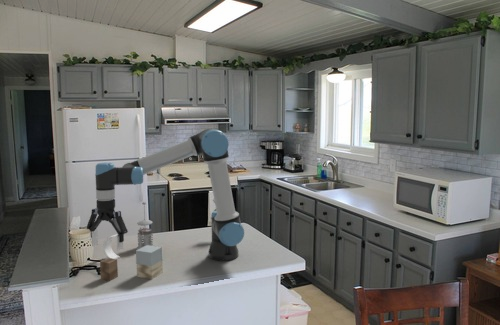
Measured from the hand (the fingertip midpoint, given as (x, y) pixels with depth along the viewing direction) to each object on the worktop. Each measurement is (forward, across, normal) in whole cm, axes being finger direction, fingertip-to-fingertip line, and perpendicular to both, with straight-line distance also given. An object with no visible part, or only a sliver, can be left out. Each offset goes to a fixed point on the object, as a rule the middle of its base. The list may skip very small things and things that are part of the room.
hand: (107, 247), depth 176 cm
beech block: (+14, -14, -10) cm, 22 cm away
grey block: (+8, -14, -10) cm, 19 cm away
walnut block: (+14, 0, 0) cm, 14 cm away
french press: (+14, +10, -39) cm, 43 cm away
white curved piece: (+14, +16, -20) cm, 29 cm away
